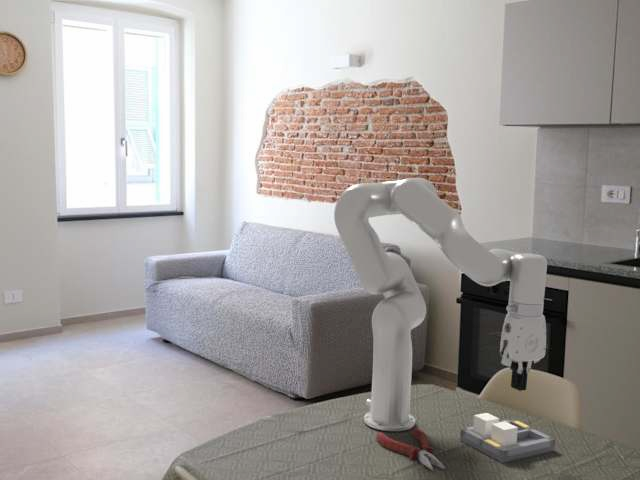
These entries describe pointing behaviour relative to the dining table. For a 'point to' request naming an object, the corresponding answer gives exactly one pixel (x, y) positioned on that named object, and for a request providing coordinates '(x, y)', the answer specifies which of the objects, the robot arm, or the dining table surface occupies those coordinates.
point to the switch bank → (526, 445)
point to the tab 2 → (504, 434)
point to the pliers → (412, 449)
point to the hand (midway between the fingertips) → (518, 388)
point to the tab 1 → (484, 424)
